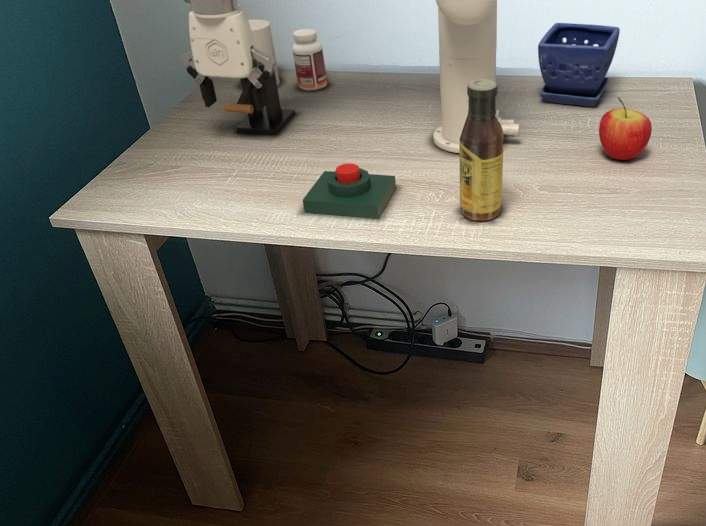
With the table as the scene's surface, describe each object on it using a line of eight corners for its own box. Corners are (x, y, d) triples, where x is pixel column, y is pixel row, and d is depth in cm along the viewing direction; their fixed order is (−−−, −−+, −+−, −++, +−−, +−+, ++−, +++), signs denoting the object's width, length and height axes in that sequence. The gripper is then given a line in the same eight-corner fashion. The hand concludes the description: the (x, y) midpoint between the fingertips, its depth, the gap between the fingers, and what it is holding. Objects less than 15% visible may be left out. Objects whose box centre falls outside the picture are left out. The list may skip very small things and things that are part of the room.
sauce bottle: (458, 204, 112) (455, 75, 100) (498, 201, 113) (500, 72, 100) (462, 226, 107) (460, 92, 95) (504, 223, 108) (508, 89, 95)
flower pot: (601, 112, 138) (608, 47, 130) (533, 105, 142) (536, 42, 134) (614, 87, 147) (621, 25, 139) (550, 81, 151) (553, 21, 143)
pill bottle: (322, 79, 158) (314, 25, 151) (331, 87, 153) (324, 33, 146) (294, 84, 156) (285, 30, 149) (303, 93, 151) (294, 38, 144)
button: (363, 174, 114) (362, 164, 112) (356, 185, 111) (354, 174, 110) (341, 172, 114) (340, 162, 113) (333, 183, 112) (332, 172, 110)
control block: (396, 188, 117) (394, 165, 115) (378, 218, 110) (376, 195, 107) (326, 182, 120) (322, 160, 117) (304, 212, 112) (300, 189, 110)
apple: (600, 143, 127) (606, 86, 121) (650, 148, 125) (659, 91, 118) (592, 163, 121) (598, 105, 115) (643, 169, 119) (653, 110, 113)
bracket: (276, 135, 136) (264, 71, 128) (236, 132, 137) (222, 69, 130) (295, 114, 143) (285, 52, 135) (258, 112, 145) (246, 51, 137)
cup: (284, 77, 160) (274, 19, 152) (274, 90, 153) (263, 31, 146) (248, 77, 160) (236, 19, 153) (236, 90, 154) (224, 31, 147)
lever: (252, 117, 129) (248, 106, 127) (227, 115, 130) (222, 105, 128) (273, 71, 135) (269, 60, 133) (248, 70, 136) (244, 59, 134)
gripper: (155, 7, 117) (181, 111, 128) (255, 11, 113) (273, 117, 124) (178, -6, 122) (201, 95, 133) (274, -2, 119) (290, 101, 130)
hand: (236, 106), depth 129 cm, fingers open, 9 cm apart
